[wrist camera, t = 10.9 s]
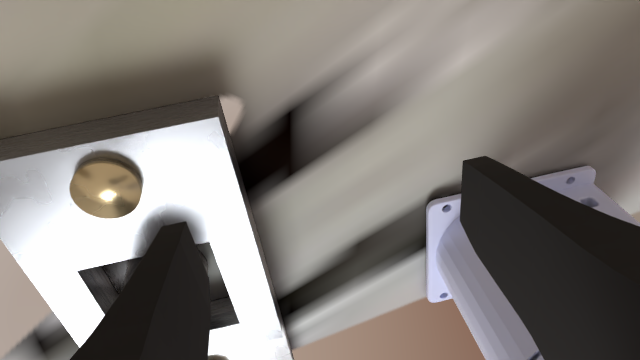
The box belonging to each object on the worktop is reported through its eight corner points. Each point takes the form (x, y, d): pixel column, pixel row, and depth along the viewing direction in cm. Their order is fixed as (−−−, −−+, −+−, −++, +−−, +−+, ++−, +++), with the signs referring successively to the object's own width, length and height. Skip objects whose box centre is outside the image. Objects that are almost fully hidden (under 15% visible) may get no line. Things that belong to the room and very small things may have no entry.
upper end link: (218, 95, 19) (218, 122, 17) (279, 309, 28) (284, 345, 25) (-26, 144, 19) (-56, 178, 17) (111, 349, 27) (101, 388, 25)
